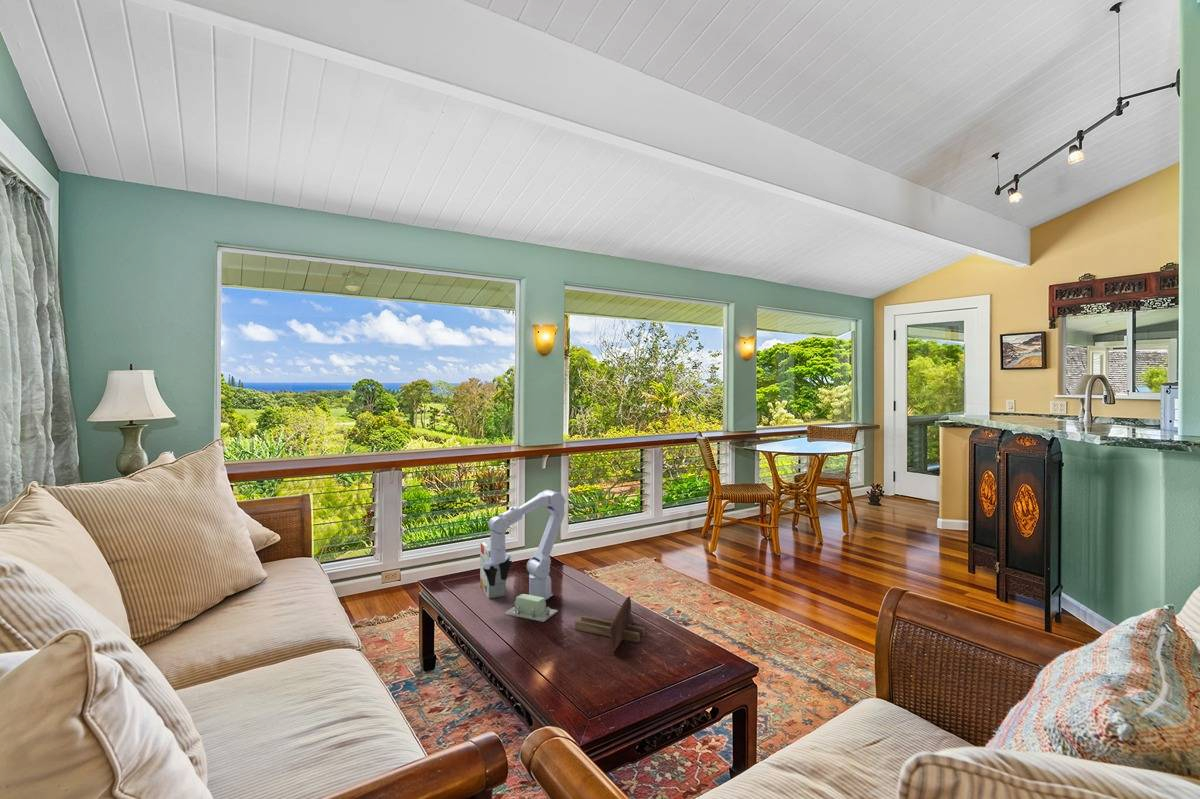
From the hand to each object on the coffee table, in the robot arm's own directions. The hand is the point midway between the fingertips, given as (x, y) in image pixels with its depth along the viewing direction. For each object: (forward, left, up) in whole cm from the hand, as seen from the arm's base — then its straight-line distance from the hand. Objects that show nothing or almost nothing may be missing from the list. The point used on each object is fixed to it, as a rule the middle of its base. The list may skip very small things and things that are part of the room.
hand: (497, 582), depth 215 cm
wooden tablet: (+3, +55, -10) cm, 56 cm away
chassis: (-1, +15, -10) cm, 18 cm away
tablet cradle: (+2, +49, -10) cm, 50 cm away
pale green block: (-1, +14, -9) cm, 17 cm away
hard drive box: (-14, -13, -10) cm, 22 cm away
